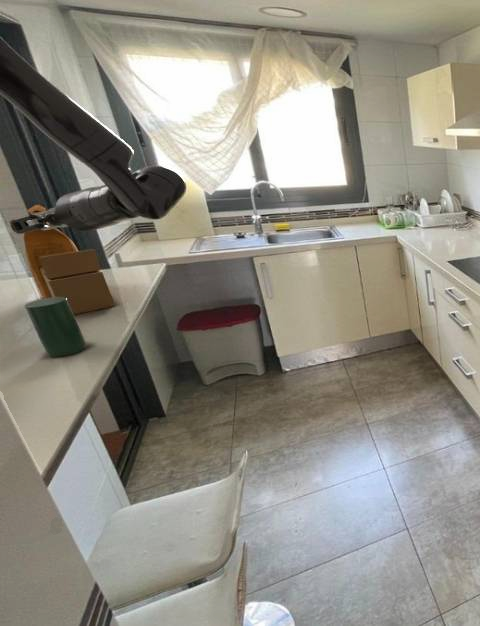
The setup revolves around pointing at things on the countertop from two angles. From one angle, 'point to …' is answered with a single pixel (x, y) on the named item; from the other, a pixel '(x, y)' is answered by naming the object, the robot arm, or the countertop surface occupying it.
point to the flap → (70, 263)
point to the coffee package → (44, 249)
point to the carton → (81, 290)
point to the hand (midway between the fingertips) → (41, 223)
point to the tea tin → (56, 326)
